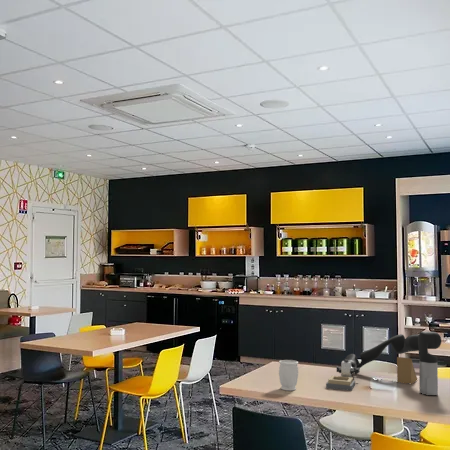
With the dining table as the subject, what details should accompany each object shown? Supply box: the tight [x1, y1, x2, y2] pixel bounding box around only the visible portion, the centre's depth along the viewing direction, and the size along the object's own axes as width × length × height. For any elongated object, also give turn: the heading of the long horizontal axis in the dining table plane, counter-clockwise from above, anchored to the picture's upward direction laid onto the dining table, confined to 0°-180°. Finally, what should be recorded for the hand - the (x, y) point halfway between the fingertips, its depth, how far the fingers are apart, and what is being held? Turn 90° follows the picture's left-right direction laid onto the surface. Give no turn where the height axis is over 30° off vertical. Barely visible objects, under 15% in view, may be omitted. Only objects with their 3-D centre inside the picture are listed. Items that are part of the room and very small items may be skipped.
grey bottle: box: [340, 359, 352, 377], centre depth 313 cm, size 5×5×13 cm
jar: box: [278, 359, 299, 392], centre depth 294 cm, size 11×10×15 cm
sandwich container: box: [396, 356, 418, 384], centre depth 322 cm, size 9×15×15 cm, turn 147°
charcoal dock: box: [325, 375, 356, 392], centre depth 302 cm, size 14×14×4 cm
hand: (345, 372), depth 311 cm, fingers open, 5 cm apart
